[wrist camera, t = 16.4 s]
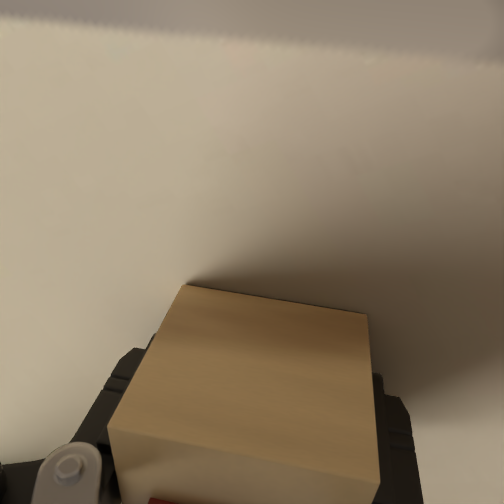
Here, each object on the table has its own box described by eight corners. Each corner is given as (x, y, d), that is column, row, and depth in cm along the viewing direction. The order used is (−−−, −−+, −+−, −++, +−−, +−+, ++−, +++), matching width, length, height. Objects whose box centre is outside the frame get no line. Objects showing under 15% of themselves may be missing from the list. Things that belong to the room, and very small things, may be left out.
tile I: (182, 283, 12) (99, 438, 8) (367, 313, 11) (382, 498, 7) (185, 401, 14) (125, 562, 10) (334, 431, 14) (332, 612, 10)
